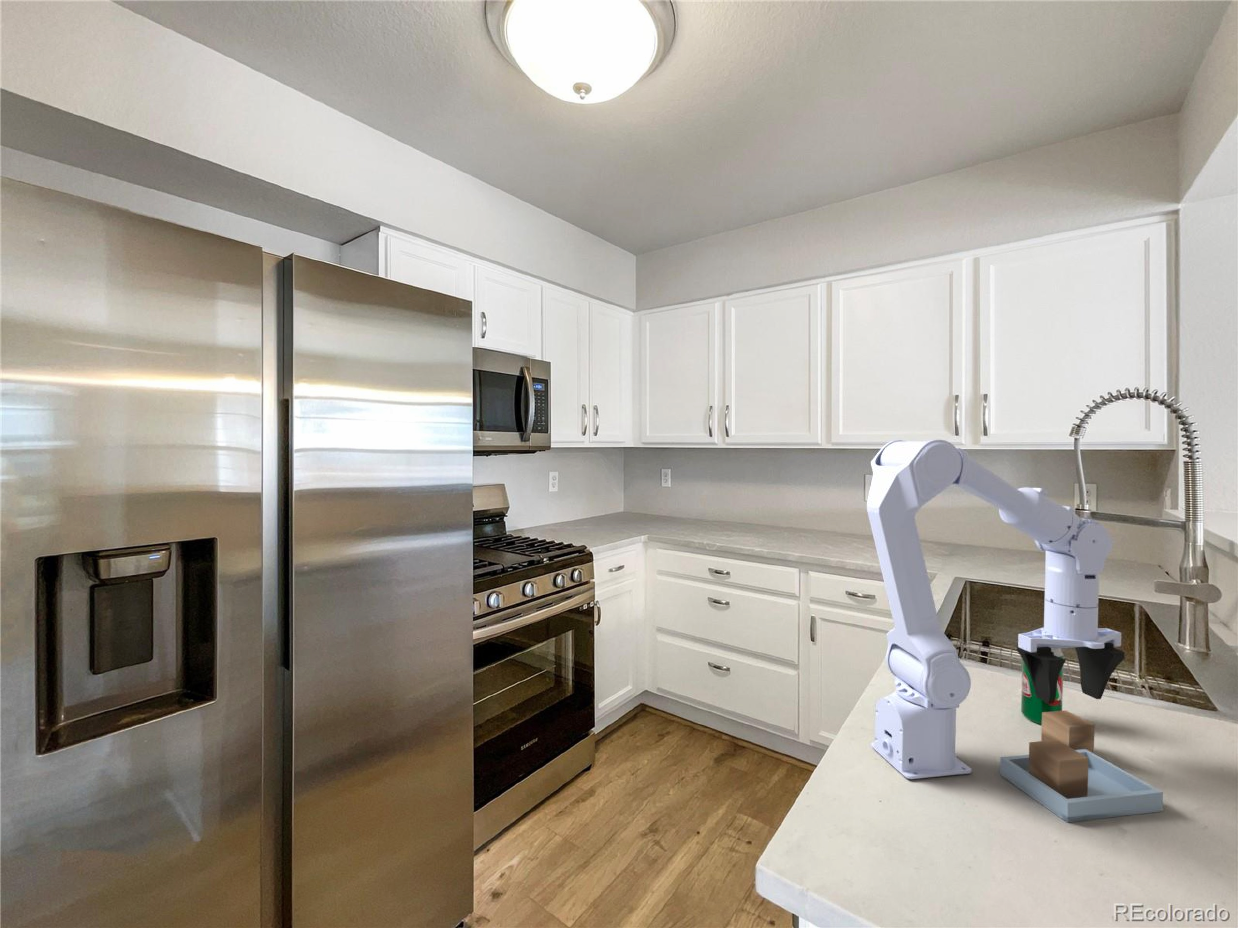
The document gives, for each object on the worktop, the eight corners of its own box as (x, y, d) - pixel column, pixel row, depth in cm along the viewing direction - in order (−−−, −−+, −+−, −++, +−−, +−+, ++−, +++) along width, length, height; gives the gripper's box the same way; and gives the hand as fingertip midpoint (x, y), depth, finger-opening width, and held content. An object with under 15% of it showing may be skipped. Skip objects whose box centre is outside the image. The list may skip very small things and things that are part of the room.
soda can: (1021, 708, 87) (1023, 636, 87) (1061, 718, 84) (1063, 643, 84) (1020, 720, 83) (1022, 645, 83) (1062, 731, 80) (1064, 653, 80)
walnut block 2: (1087, 798, 64) (1088, 757, 64) (1058, 801, 63) (1059, 760, 63) (1055, 777, 68) (1056, 739, 68) (1028, 780, 67) (1029, 742, 67)
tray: (1067, 822, 61) (1067, 802, 61) (1000, 774, 70) (1000, 757, 70) (1162, 810, 63) (1163, 791, 63) (1085, 765, 72) (1085, 748, 71)
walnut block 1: (1068, 762, 72) (1069, 726, 72) (1041, 746, 76) (1041, 712, 76) (1093, 760, 73) (1094, 724, 73) (1065, 744, 77) (1066, 710, 77)
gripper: (1053, 613, 69) (1050, 716, 69) (1147, 608, 71) (1144, 707, 71) (1005, 598, 76) (1003, 691, 76) (1092, 593, 78) (1090, 684, 78)
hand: (1068, 697), depth 74 cm, fingers open, 7 cm apart
